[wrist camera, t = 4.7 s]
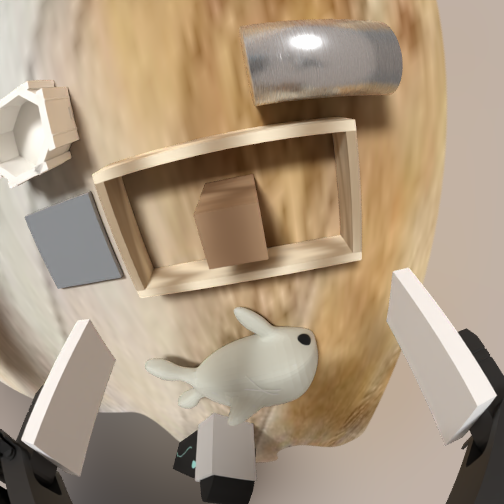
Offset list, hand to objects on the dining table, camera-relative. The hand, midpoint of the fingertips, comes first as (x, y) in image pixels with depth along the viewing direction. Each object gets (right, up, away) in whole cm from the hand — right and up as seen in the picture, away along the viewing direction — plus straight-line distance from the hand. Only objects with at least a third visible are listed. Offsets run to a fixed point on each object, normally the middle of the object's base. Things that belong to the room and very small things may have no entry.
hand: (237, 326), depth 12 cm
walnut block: (-1, +7, +13) cm, 15 cm away
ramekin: (-19, +14, +8) cm, 25 cm away
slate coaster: (-18, +4, +14) cm, 23 cm away
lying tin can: (+5, +18, +8) cm, 20 cm away
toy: (-1, -9, +23) cm, 25 cm away
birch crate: (-1, +7, +13) cm, 15 cm away
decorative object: (-7, -30, +34) cm, 46 cm away
